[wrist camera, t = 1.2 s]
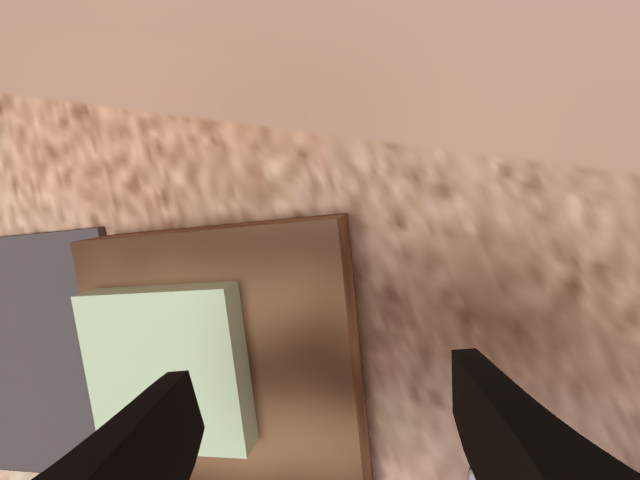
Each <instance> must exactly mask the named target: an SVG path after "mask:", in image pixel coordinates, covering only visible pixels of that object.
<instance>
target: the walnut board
mask: <svg viewBox="0 0 640 480" xmlns="http://www.w3.org/2000/svg"><path fill="white" fill-rule="evenodd" d="M70 245H71V250H72V256H73V261H74V267H75V272H76V277H77V283H78V288H79V294H80V293H83V292H86V291H89V290H92V289H96V288H114V287H132V286H150V285H168V284H186V283H204V282H222V281H238V285H239V292H240V300H241V307H242V315H243V322H244V330H245V337H246V345H247V352H248V360H249V367H250V375H251V382H252V390H253V397H254V405H255V412H256V419H257V427H258V434H259V439H258V441H257V442H256V444H255V446H254V448H253V449H252V451H251V453H250V455H249V456H248V458H247V459H239V458H221V457H203V456H197V460H196V463H195V466H194V469H193V472H192V474H191V477H190V479H189V480H373V475H372V465H371V454H370V444H369V434H368V423H367V413H366V402H365V392H364V382H363V371H362V361H361V351H360V340H359V330H358V320H357V309H356V299H355V288H354V278H353V268H352V257H351V247H350V237H349V226H348V216H347V213H344V214H333V215H322V216H311V217H300V218H289V219H278V220H268V221H257V222H246V223H235V224H224V225H213V226H202V227H191V228H180V229H169V230H159V231H148V232H137V233H126V234H115V235H108V236H102V237H97V238H91V239H85V240H80V241H74V242H70Z"/></svg>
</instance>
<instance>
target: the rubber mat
mask: <svg viewBox="0 0 640 480" xmlns="http://www.w3.org/2000/svg"><path fill="white" fill-rule="evenodd" d="M102 236H105V230H104V227H99V228H89V229H78V230H68V231H58V232H48V233H37V234H27V235H17V236H7V237H0V470H9V471H22V472H36V473H41V472H43V471H44V470H46V469H47V468H48V467H50V466H51V465H52V464H54V463H55V462H56V461H58V460H59V459H61V458H62V457H63V456H64V455H66V454H67V453H68V452H69V451H71V450H72V449H73V448H75V447H76V446H77V445H78V444H80V443H81V442H82V441H83V440H85V439H86V438H87V437H89V436H90V435H91V434H92V433H94V432H95V431H96V429H95V424H94V418H93V413H92V408H91V402H90V397H89V392H88V387H87V381H86V376H85V371H84V365H83V360H82V355H81V349H80V344H79V339H78V333H77V328H76V323H75V318H74V312H73V307H72V302H71V296H74V295H77V294H79V288H78V283H77V277H76V272H75V267H74V261H73V256H72V250H71V245H70V242H74V241H80V240H85V239H91V238H97V237H102Z"/></svg>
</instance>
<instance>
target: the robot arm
mask: <svg viewBox="0 0 640 480" xmlns="http://www.w3.org/2000/svg"><path fill="white" fill-rule="evenodd" d="M452 396H453V414H454V418H455V422H456V425H457V429H458V432H459V436H460V439H461V443H462V446H463V449H464V452H465V455H466V457H467V460H468V462H469V465H470V467H471V469H470V471H469V473H468V479H469V480H640V473H638V472H636V471H635V470H633V469H631V468H630V467H628V466H627V465H625V464H624V463H622V462H621V461H619V460H618V459H616V458H614V457H613V456H611V455H610V454H608V453H607V452H605V451H604V450H602V449H601V448H599V447H598V446H596V445H595V444H593V443H592V442H590V441H589V440H587V439H586V438H585V437H583V436H582V435H580V434H579V433H578V432H576V431H575V430H574V429H572V428H571V427H569V426H568V425H567V424H565V423H564V422H563V421H561V420H560V419H559V418H557V417H556V416H555V415H553V414H552V413H551V412H550V411H548V410H547V409H546V408H544V407H543V406H542V405H541V404H540V403H538V402H537V401H536V400H535V399H533V398H532V397H531V396H530V395H529V394H527V393H526V392H525V391H524V390H523V389H521V388H520V387H519V386H518V385H517V384H516V383H514V382H513V381H512V380H511V379H510V378H509V377H508V376H506V375H505V374H504V373H503V372H502V371H501V370H500V369H498V368H497V367H496V366H495V365H494V364H493V363H492V362H491V361H490V360H488V359H487V358H486V357H485V356H484V355H483V354H482V353H480V352H479V351H478V350H477V349H476V348H473V349H460V350H452ZM204 429H205V426H204V422H203V419H202V415H201V412H200V409H199V405H198V402H197V398H196V395H195V391H194V388H193V384H192V381H191V378H190V374H189V371H188V370H186V371H173V372H167V373H165V374H164V375H163V376H161V377H160V378H159V379H158V380H156V381H155V382H154V383H153V384H151V385H150V386H149V387H148V388H147V389H145V390H144V391H143V392H142V393H141V394H139V395H138V396H137V397H136V398H135V399H134V400H132V401H131V402H130V403H129V404H128V405H126V406H125V407H124V408H123V409H122V410H120V411H119V412H118V413H117V414H116V415H114V416H113V417H112V418H111V419H110V420H108V421H107V422H106V423H105V424H104V425H102V426H101V427H100V428H99V429H98V430H96V431H95V432H94V433H92V434H91V435H90V436H89V437H87V438H86V439H85V440H83V441H82V442H81V443H80V444H78V445H77V446H76V447H75V448H73V449H72V450H71V451H69V452H68V453H67V454H66V455H64V456H63V457H62V458H61V459H59V460H58V461H56V462H55V463H54V464H52V465H51V466H50V467H48V468H47V469H46V470H44V471H43V472H41V473H40V474H39V475H37V476H36V477H34V478H33V479H31V480H189V479H190V477H191V474H192V472H193V469H194V466H195V463H196V460H197V456H198V453H199V449H200V445H201V441H202V437H203V433H204Z"/></svg>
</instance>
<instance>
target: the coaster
mask: <svg viewBox="0 0 640 480" xmlns="http://www.w3.org/2000/svg"><path fill="white" fill-rule="evenodd" d="M71 302H72V307H73V312H74V318H75V323H76V328H77V333H78V339H79V344H80V349H81V355H82V360H83V365H84V371H85V376H86V381H87V387H88V392H89V397H90V402H91V408H92V413H93V418H94V424H95V429H96V430H98V429H99V428H100V427H101V426H102V425H104V424H105V423H106V422H107V421H108V420H110V419H111V418H112V417H113V416H114V415H116V414H117V413H118V412H119V411H120V410H122V409H123V408H124V407H125V406H126V405H128V404H129V403H130V402H131V401H132V400H134V399H135V398H136V397H137V396H138V395H139V394H141V393H142V392H143V391H144V390H145V389H147V388H148V387H149V386H150V385H151V384H153V383H154V382H155V381H156V380H158V379H159V378H160V377H161V376H163V375H164V374H165V373H167V372H173V371H186V370H188V371H189V374H190V378H191V381H192V384H193V388H194V391H195V395H196V398H197V402H198V405H199V409H200V412H201V415H202V419H203V422H204V426H205V429H204V433H203V437H202V441H201V445H200V449H199V453H198V456H203V457H221V458H239V459H247V458H248V456H249V455H250V453H251V451H252V449H253V448H254V446H255V444H256V442H257V441H258V439H259V434H258V427H257V419H256V412H255V405H254V397H253V390H252V382H251V375H250V367H249V360H248V352H247V345H246V337H245V330H244V322H243V315H242V307H241V300H240V292H239V285H238V281H222V282H204V283H186V284H168V285H150V286H132V287H114V288H96V289H92V290H89V291H86V292H83V293H80V294H77V295H74V296H71Z"/></svg>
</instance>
